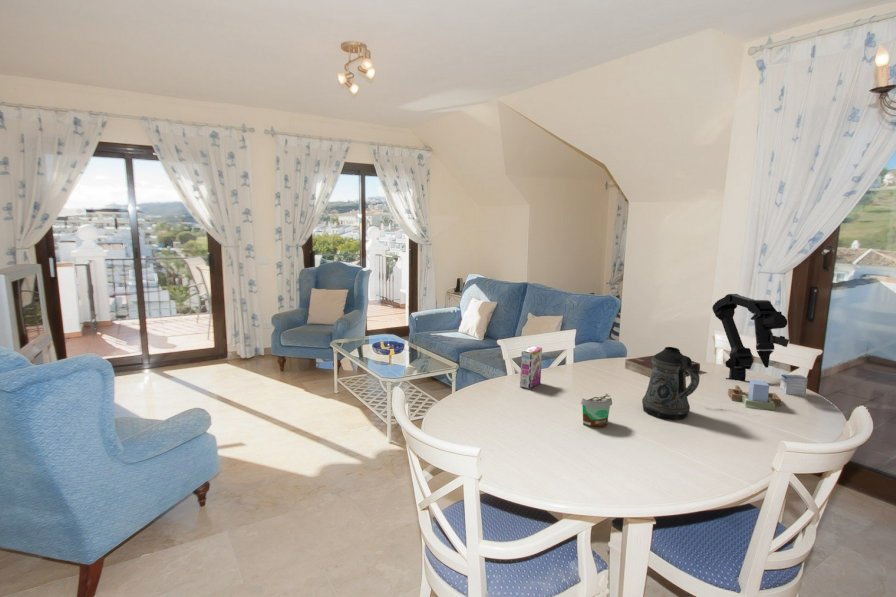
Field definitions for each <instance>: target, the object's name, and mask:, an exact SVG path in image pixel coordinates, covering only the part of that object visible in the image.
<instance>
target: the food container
mask: <svg viewBox="0 0 896 597" xmlns="http://www.w3.org/2000/svg"><path fill="white" fill-rule="evenodd" d="M581 399H582V400H581V402H580V404H581V406H582V425H583V426H584V427H586V428H587V427H588V428H591V429H602V428H603V429H604V428H606V427H607V426H608V422H609V414H610V408H611V406H612V405H613V399H612V397H611V395H610V394H609V393H605V395H603V396H594V397H592V398H589V399H586V398H583V397H582V398H581Z"/></svg>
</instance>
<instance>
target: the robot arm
mask: <svg viewBox="0 0 896 597" xmlns="http://www.w3.org/2000/svg"><path fill="white" fill-rule="evenodd" d="M738 306H740V307H743V308H746V309H747V310H748V312H750V313H751V314H753V316H751V317H750V320H751V321H754V331H755V332H754V333H755V349H756V353H757V355H758V356H759V358H760V360H761V362H762V365H763V366H764V367H765V368H769V364H770V357H771V354H773V352H774V350H775V345H778V346H782V347H784V348H787V347H788V344H789V342H790V339H788V338H786V337H785V336H783V335H780V336H776V335H774V334H773V332H772V330H777V329H778V330H779V329H784V328H786V327H787V326H788V319H787V318H786V316H785V315H784V314H782V311H777V310H776V308H775V307H774V305H773V304H772V301H770V300H769V299H767V300H766V299H753V298H750V297H747V296H744V295H741V294H738V293H728V294H726V295H725V296H724V297H721V298H720V299H718V300H716V301H715V303H714V304H713V305H712V311H713V313H714V316H715V317H716V318H717V319H718V320H720V321H721V324H722V326H723V330H724V332H725V335H726V337H727V341H728V344H729V347H730V352H729V358H728V359H727V360H726V361H724V362H725V367H726V368H728V369H729V373H728V375H729V376H728V377H725V380H729V381H739V382H741V381H742V382H746V376H747V374H746V373H747V370H751V368H752V365H753V364H754V358H753V357H754V355H753V354H752V350H751V349H750V348H749V347H745V346H744V344H743V342H742V339H741V337H740V333H739V330H738V328H737V325H736V322H735V320H734V319H735V318H734V316H735V314H736V311H735V310H736V309H737V308H738Z"/></svg>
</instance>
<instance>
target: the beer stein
mask: <svg viewBox="0 0 896 597" xmlns="http://www.w3.org/2000/svg"><path fill="white" fill-rule="evenodd" d="M652 356H653V355H652ZM692 361H693V360H692V359H691V357H689V356H687V355H684V354H682V353H681V351H680V349H679V348H678V347H673V346H666V347H664V348H663V350H661V351H659V352H658V353H655V354H654V356H653V357H652V363H653V369H652V373H651V377H649V382H648V386H647V389H646V392H645V395H644V396H643V398H642V401H641V404H642V409H643V412H644V413H645V414H647V415H649V416H651V417H654V418H657V419H662V420H665V421H667V420H668V421H679V420H681V421H682V420H685V419H687V418H688V416H689V413H690V409H691V408H690V407H691V406H690V403H689V399H688V397H689V396H690V395H692V394H693V393H694V392H695V390H697V388H698V387H699V384H700V381H701V380H700V379H701V378H700V374H699V372H698V370H697V369H696V368H695V367H694V366H692V365H691V364H692ZM685 372H687V373H688V374H687V375H689V377H690V383H689V384H688V386H687V379H686V374H685Z"/></svg>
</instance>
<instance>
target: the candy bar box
mask: <svg viewBox="0 0 896 597" xmlns="http://www.w3.org/2000/svg"><path fill="white" fill-rule="evenodd" d="M520 357H521V360H520V362H521V364H520V379H519V380H520V381H519V382H520V384H519V385H520V386H519V387H520V388H521V387H522V389H525V388H526V389H525V390H530V389H532V388H534V387H536V386H538V385H540V384H541V379H542V378H541V377H542V358H543V348H542V347H539V346H531V347H529V348H526V349H524V350H522V351H521V356H520Z"/></svg>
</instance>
